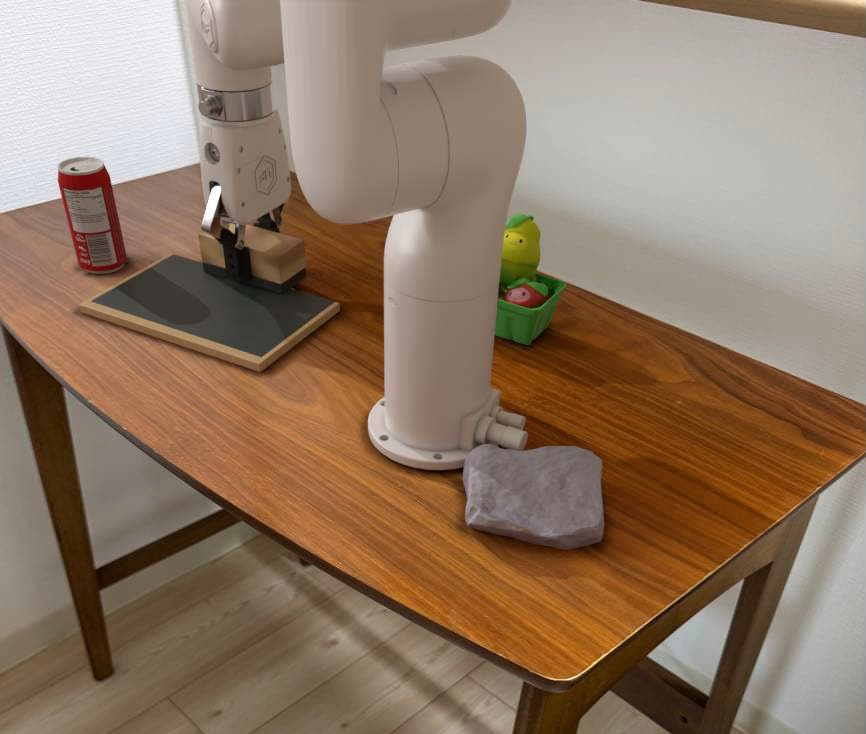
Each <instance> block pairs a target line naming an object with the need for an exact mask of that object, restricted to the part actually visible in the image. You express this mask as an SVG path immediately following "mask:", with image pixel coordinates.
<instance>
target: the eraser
mask: <svg viewBox="0 0 866 734" xmlns="http://www.w3.org/2000/svg"><path fill="white" fill-rule="evenodd" d="M229 230H230V231H231V232H232V233H234V234H235V224H232V223H229ZM197 236H198V243H199V248H200V257H201V261H202V263H203V269H204V271H205V272H209V273H212V274H216V275H219V276H222V277H226V278H229V279H233V280H236V281H240V282H243V283H246V284H250V285H253V286H257V287H260V288H263V289H267V290H270V291H274V292H277V293H280V294H283V293H284V292H286V291H287V290H288V289H290V288H293V287H294V286H295V285H297V284H298V283H300V282H301V281H303V280H304V279H306V278H307V263H306V249H305V248H306V247H305V239H304V238H299V237H295V236H292V235H288V234H285V233H281V232H280V233H277V232H273V231H270V230H266V229H262V228H258V227H255V226H254V225H251V224H247V225H246V230H245V245H244V246H247V247H249V255H250V264H251V272H252V280H250V281H249V282H245V281H242V280H239V279H235V278H232V277H229V276H228V275H227V273H226V267H225V259H224V251H223V245H221V244H219V243H218V240H216V239H215V238H214V237H213V236H212V235H210V234H208V233H206V232H205V231H203V230H202V231H201V232H199V233H197Z"/></svg>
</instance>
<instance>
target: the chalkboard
mask: <svg viewBox="0 0 866 734" xmlns="http://www.w3.org/2000/svg"><path fill="white" fill-rule="evenodd" d="M202 262H203V261H202ZM202 262H201V261H198V260H195V259H191V258H187V257H185V256H180V255H177V254H174V253H168V254H166V255H164V256H162V257H160V258H158V259H157V260H155V261H154V262H152V263H150V264H148V265H146V266H144V267H143V268H141V269H139V270H137V271H136V272H134V273H132V274H130V275H129V276H127V277H125V278H123V279H122V280H120V281H118V282H116V283H114V284H113V285H111V286H109V287H107V288H106V289H104V290H102V291H100V292H98V293H97V294H94V295H93V296H91V297H89V298H87V299H86V300H84V301H82V302H81V303H79V304H78V306H79V310H80V313H82V314H85V315H87V316H90V317H94V318H97V319H100V320H102V321H105V322H108V323H112V324H115V325H118V326H121V327H124V328H126V329H130V330H133V331H136V332H139V333H141V334H144V335H148V336H151V337H153V338H157V339H160V340H163V341H165V342H168V343H171V344H174V345H177V346H181V347H182V348H186V349H189V350H192V351H196V352H199V353H201V354H204V355H207V356H210V357H213V358H216V359H219V360H222V361H225V362H229V363H231V364H234V365H238V366H241V367H243V368H246V369H249V370H252V371H255V372H258V373H261V372H263V371H264V370H265V369H267V368H268V367H269V366H270V365H272V364H273V363H275V362H276V360H278V359H279V358H280V357H281V358H282V356H283V355H285V354H286V353H287V352H289V351H290V350H291V349H293V348H294V347H295V346H296V345H298V344H299V343H300V342H302V341H303V340H305V339H306V338H307V337H308V336H309V335H310V334H312V333H313V332H315V331H316V330H317V329H319V328H320V327H321V326H322V325H324V324H325V323H326V322H327V321H329V320H330V319H332V317H334V316H335V315H337V313H339V312H340V311H341V309H340V306H341V305H340V304H341V303H340V302H338V301H334V300H331V299H328V298H324V297H321V296H317V295H313V294H311V293H307V292H305V291H301V290H297V289H295V288H293V289H288V290H287V291H286V292H284V293H283V294H280V293H277V292H274V291H270V290H267V289H263V288H260V287H257V286H253V285H250V284H246V283H243V282H240V281H236V280H233V279H229V278H226V277H222V276H219V275H216V274H212V273H209V272H205V271H204V269H203V263H202ZM294 289H295V290H294Z"/></svg>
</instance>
